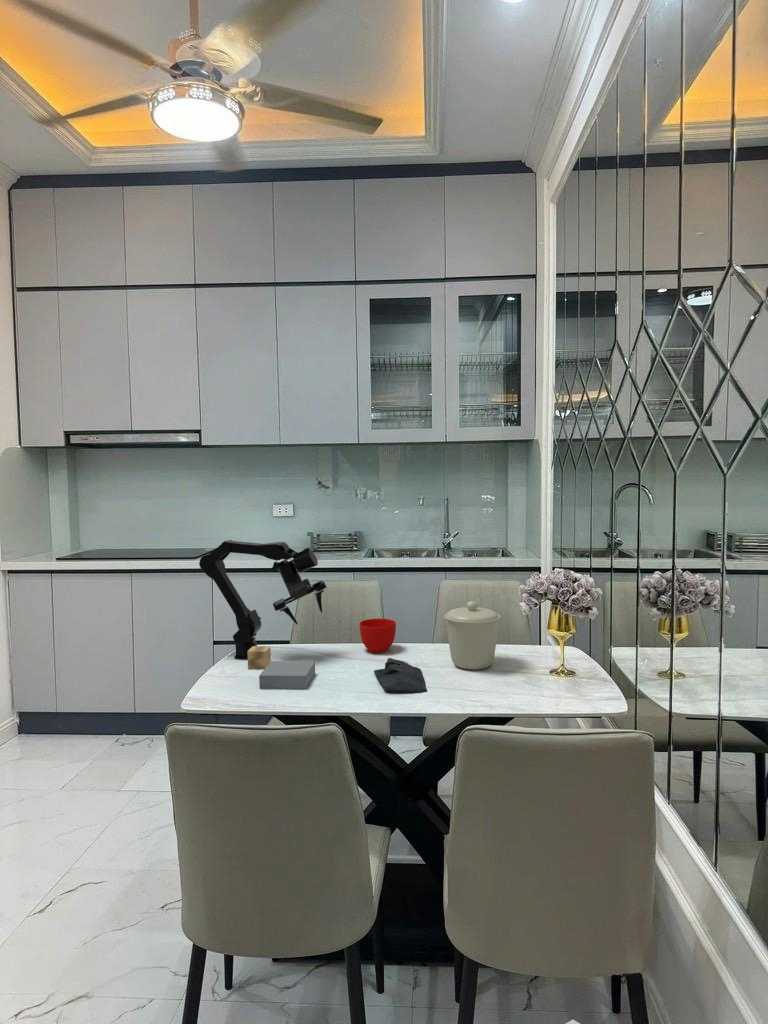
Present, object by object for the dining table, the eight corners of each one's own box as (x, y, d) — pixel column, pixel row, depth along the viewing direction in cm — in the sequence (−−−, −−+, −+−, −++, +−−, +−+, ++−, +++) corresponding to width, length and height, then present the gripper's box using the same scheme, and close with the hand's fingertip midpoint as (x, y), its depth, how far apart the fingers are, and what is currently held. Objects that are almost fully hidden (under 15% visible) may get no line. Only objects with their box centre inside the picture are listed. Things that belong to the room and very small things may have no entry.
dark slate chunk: (376, 696, 179) (376, 680, 178) (373, 672, 201) (373, 657, 200) (429, 694, 179) (429, 678, 179) (421, 670, 201) (421, 655, 201)
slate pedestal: (259, 688, 186) (259, 675, 185) (271, 673, 199) (271, 661, 199) (306, 689, 184) (305, 675, 184) (315, 673, 198) (314, 661, 198)
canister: (486, 654, 215) (485, 594, 214) (510, 670, 198) (510, 604, 196) (436, 660, 210) (435, 598, 209) (457, 676, 193) (456, 609, 192)
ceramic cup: (388, 641, 234) (388, 615, 234) (400, 654, 218) (400, 625, 217) (354, 644, 231) (354, 617, 231) (364, 657, 215) (363, 628, 214)
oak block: (248, 669, 204) (247, 651, 204) (253, 663, 210) (252, 646, 210) (266, 669, 204) (265, 651, 203) (270, 664, 210) (270, 646, 209)
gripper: (266, 588, 204) (286, 632, 204) (318, 565, 209) (337, 607, 209) (265, 588, 215) (283, 629, 215) (314, 565, 219) (332, 606, 219)
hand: (309, 618), depth 214 cm, fingers open, 9 cm apart
